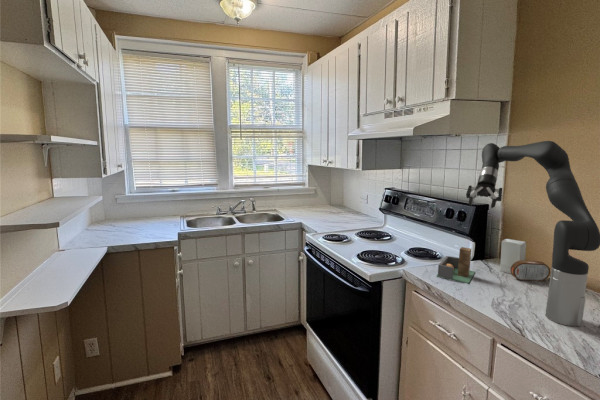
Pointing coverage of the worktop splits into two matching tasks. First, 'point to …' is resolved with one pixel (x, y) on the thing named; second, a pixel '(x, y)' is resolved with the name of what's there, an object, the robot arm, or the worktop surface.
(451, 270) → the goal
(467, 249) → the brown wooden block
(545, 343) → the worktop surface
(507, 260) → the skincare box
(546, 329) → the worktop surface
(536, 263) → the tin
